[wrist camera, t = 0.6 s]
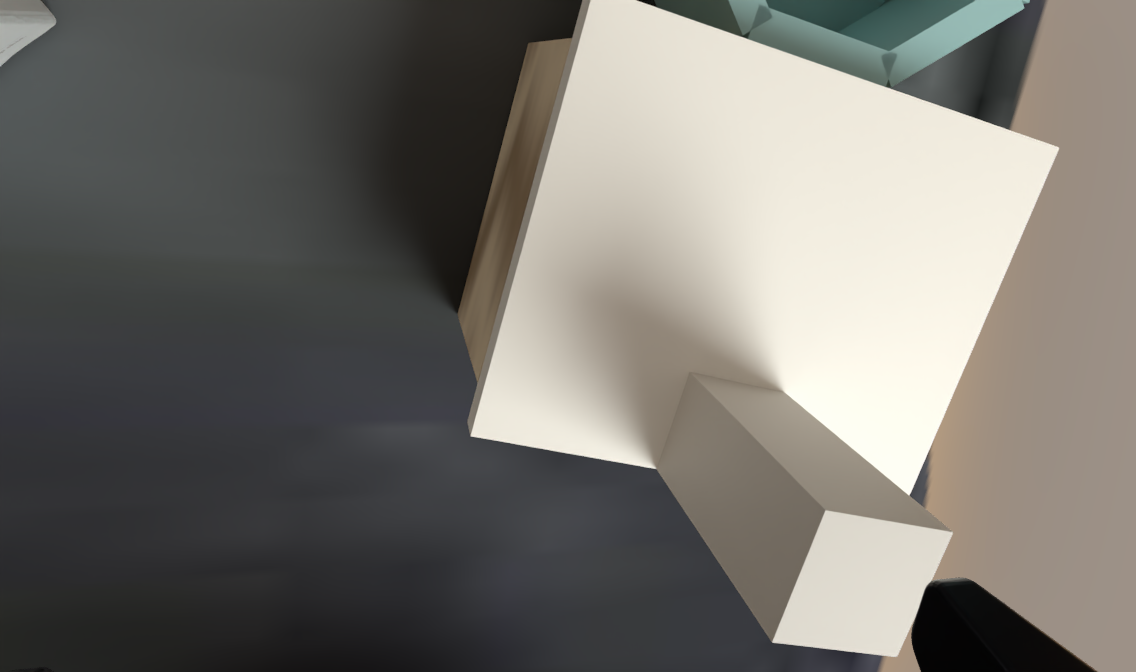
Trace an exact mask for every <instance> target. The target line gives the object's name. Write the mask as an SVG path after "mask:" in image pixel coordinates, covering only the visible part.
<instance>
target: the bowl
mask: <svg viewBox="0 0 1136 672" xmlns="http://www.w3.org/2000/svg"><path fill="white" fill-rule="evenodd" d="M654 1H655V3H656V6H657V8H660V9H662V10H665V11H668V12H671V13H674V14H677V15H680V16H683V17H685V18H688V19H691V20H694V21H697V22H700V23H703V24H706V25H708V26H711V27H714V28H717V29H720V30H723V31H726V32H729V33H731V34H734V35H737V36H740V37H743V38H746V39H749V40H752V41H754V42H757V43H760V44H763V45H766V46H769V47H772V48H775V49H777V50H780V51H783V52H786V53H789V54H792V55H795V56H797V57H800V58H803V59H806V60H809V61H812V62H815V63H818V64H820V65H823V66H826V67H829V68H832V69H835V70H838V71H841V72H843V73H846V74H849V75H852V76H855V77H858V78H861V79H864V80H866V81H869V82H872V83H875V84H878V85H881V86H884V87H892V86H894V85H896V84H897V83H899V82H901V81H903V80H904V79H906V78H908V77H909V76H911V75H913V74H914V73H916V72H918V71H919V70H921V69H923V68H924V67H926V66H928V65H930V64H931V63H933V62H935V61H936V60H938V59H940V58H941V57H943V56H945V55H946V54H948V53H950V52H951V51H953V50H955V49H957V48H958V47H960V46H962V45H963V44H965V43H967V42H968V41H970V40H972V39H973V38H975V37H977V36H978V35H980V34H982V33H984V32H985V31H987V30H989V29H990V28H992V27H994V26H995V25H997V24H999V23H1000V22H1002V21H1004V20H1005V19H1007V18H1009V17H1010V16H1012V15H1014V14H1016V13H1017V12H1019V11H1021V10H1022V9H1024V6H1023V3H1029V1H1030V0H654Z"/></svg>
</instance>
